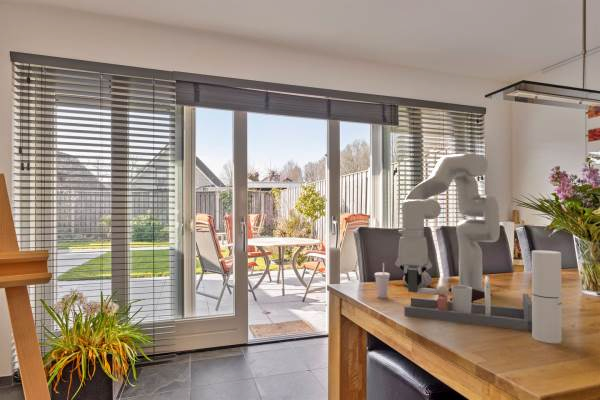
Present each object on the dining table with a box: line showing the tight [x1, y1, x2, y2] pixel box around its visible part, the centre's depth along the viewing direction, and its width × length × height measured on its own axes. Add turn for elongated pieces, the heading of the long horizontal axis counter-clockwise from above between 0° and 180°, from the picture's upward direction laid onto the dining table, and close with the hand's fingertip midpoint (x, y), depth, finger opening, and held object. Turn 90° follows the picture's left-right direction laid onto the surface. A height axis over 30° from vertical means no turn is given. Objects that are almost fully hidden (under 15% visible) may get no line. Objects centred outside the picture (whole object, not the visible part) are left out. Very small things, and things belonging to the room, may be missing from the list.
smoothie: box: [374, 262, 391, 299], centre depth 157 cm, size 6×6×14 cm
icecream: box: [448, 286, 492, 303], centre depth 147 cm, size 7×8×15 cm
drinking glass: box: [450, 284, 472, 313], centre depth 130 cm, size 7×7×10 cm
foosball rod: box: [407, 267, 449, 311], centre depth 135 cm, size 9×13×14 cm
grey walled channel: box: [404, 275, 532, 332], centre depth 129 cm, size 15×38×13 cm, turn 65°
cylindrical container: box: [531, 249, 563, 344], centre depth 108 cm, size 7×7×25 cm
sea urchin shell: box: [402, 270, 433, 288], centre depth 178 cm, size 13×14×8 cm
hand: (413, 283), depth 137 cm, fingers closed on foosball rod, 3 cm apart
